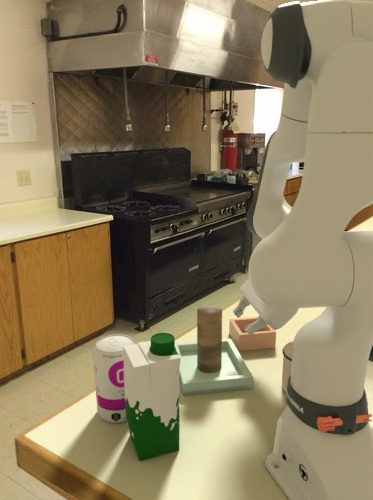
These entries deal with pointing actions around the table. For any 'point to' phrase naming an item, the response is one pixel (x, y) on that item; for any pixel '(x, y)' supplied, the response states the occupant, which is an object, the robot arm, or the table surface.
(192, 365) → the sage tray
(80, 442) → the table surface
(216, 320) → the walnut canister
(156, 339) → the milk carton
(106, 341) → the supplement can
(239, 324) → the terracotta holder
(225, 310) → the table surface
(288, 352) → the teacup with lid
